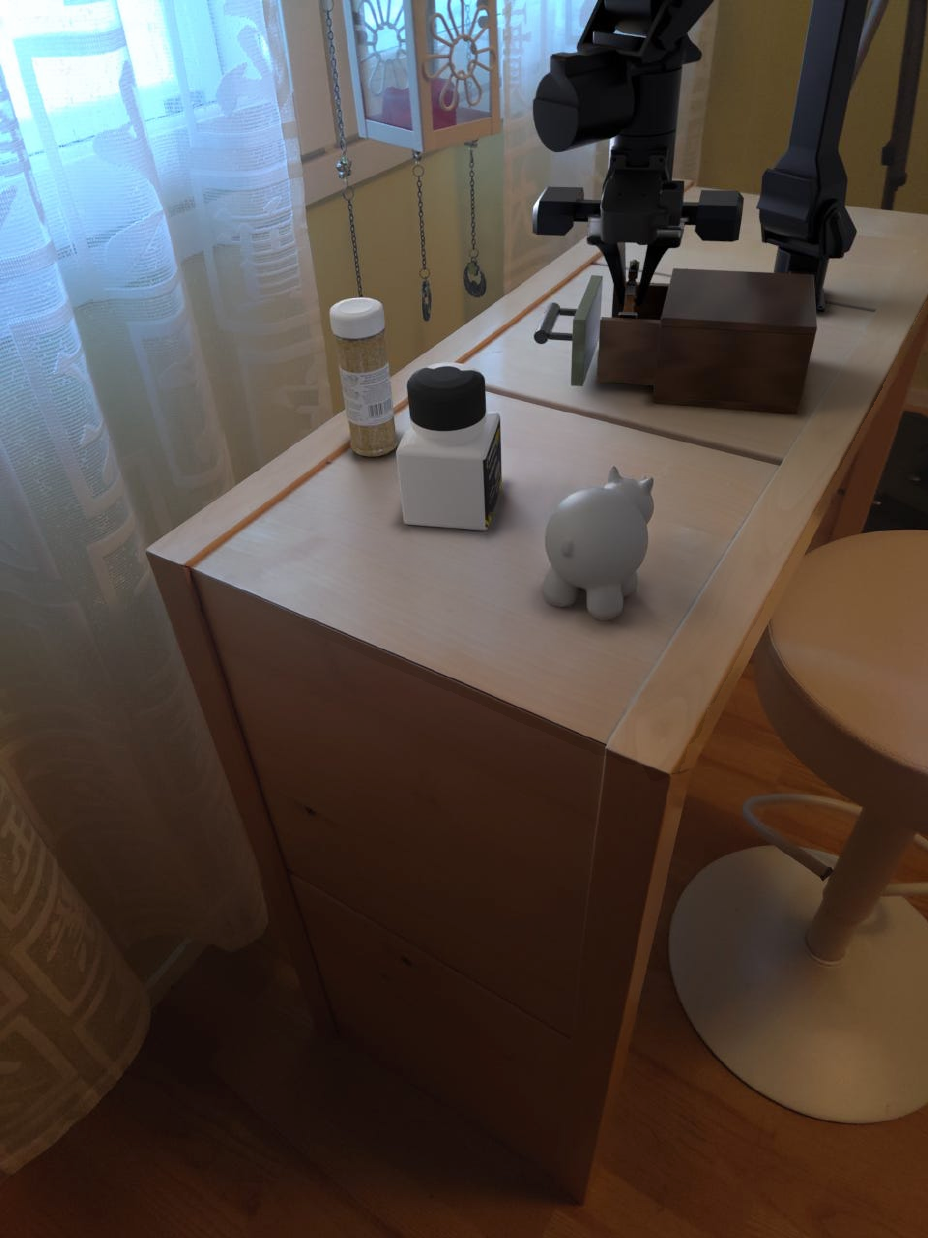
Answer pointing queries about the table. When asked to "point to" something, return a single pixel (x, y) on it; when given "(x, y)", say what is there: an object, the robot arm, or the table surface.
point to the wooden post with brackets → (630, 292)
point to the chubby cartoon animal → (598, 544)
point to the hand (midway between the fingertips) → (630, 304)
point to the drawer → (610, 335)
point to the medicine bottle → (449, 450)
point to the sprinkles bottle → (365, 374)
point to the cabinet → (735, 340)
